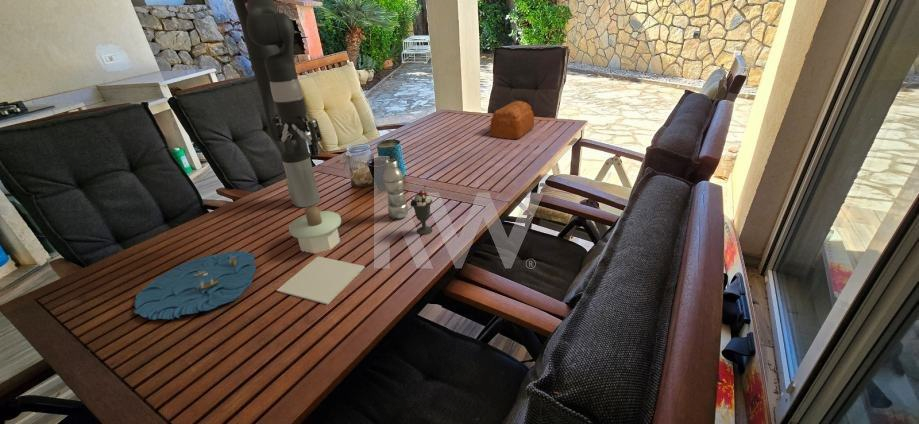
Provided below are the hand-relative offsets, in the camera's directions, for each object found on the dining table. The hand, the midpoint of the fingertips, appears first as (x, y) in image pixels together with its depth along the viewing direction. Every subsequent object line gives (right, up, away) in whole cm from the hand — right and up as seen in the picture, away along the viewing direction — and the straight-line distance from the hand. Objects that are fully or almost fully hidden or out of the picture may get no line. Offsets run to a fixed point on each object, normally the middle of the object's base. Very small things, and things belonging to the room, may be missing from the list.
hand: (302, 154), depth 113 cm
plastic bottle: (+24, -18, +22) cm, 37 cm away
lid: (+1, -21, +6) cm, 22 cm away
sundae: (+34, -22, +12) cm, 42 cm away
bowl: (+2, -26, +9) cm, 27 cm away
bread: (+74, +26, +101) cm, 128 cm away
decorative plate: (-23, -37, -7) cm, 44 cm away
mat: (+8, -34, -8) cm, 36 cm away
